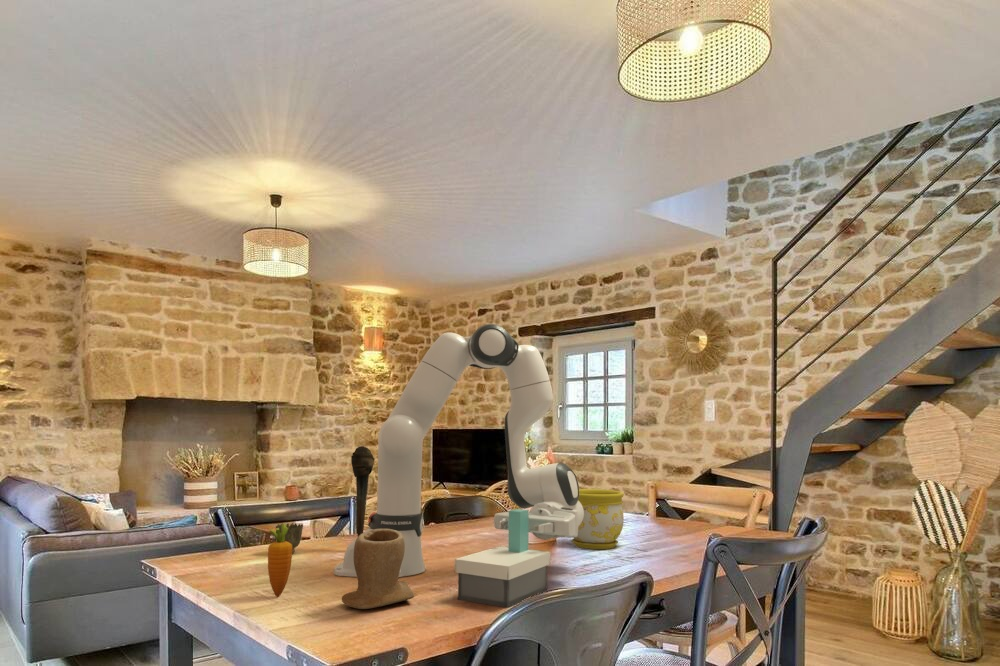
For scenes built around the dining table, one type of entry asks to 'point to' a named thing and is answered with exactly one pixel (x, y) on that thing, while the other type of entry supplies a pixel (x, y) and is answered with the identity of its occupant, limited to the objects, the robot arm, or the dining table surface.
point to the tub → (501, 588)
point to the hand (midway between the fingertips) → (519, 527)
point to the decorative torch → (361, 481)
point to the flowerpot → (600, 519)
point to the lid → (506, 554)
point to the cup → (292, 534)
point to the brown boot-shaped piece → (378, 570)
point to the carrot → (279, 560)
